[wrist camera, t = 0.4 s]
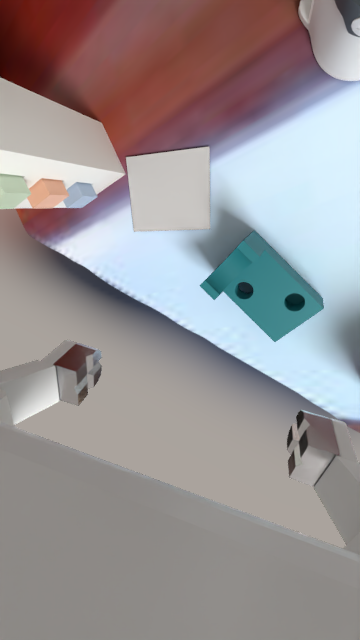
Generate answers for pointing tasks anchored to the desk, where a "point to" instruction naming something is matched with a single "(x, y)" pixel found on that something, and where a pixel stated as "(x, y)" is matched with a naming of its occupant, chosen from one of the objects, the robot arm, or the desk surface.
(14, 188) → the sage button
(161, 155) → the paper stack
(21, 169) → the button panel
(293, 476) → the robot arm
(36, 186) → the terracotta button
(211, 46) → the desk surface
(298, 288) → the teal l-shaped bracket
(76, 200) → the slate button
